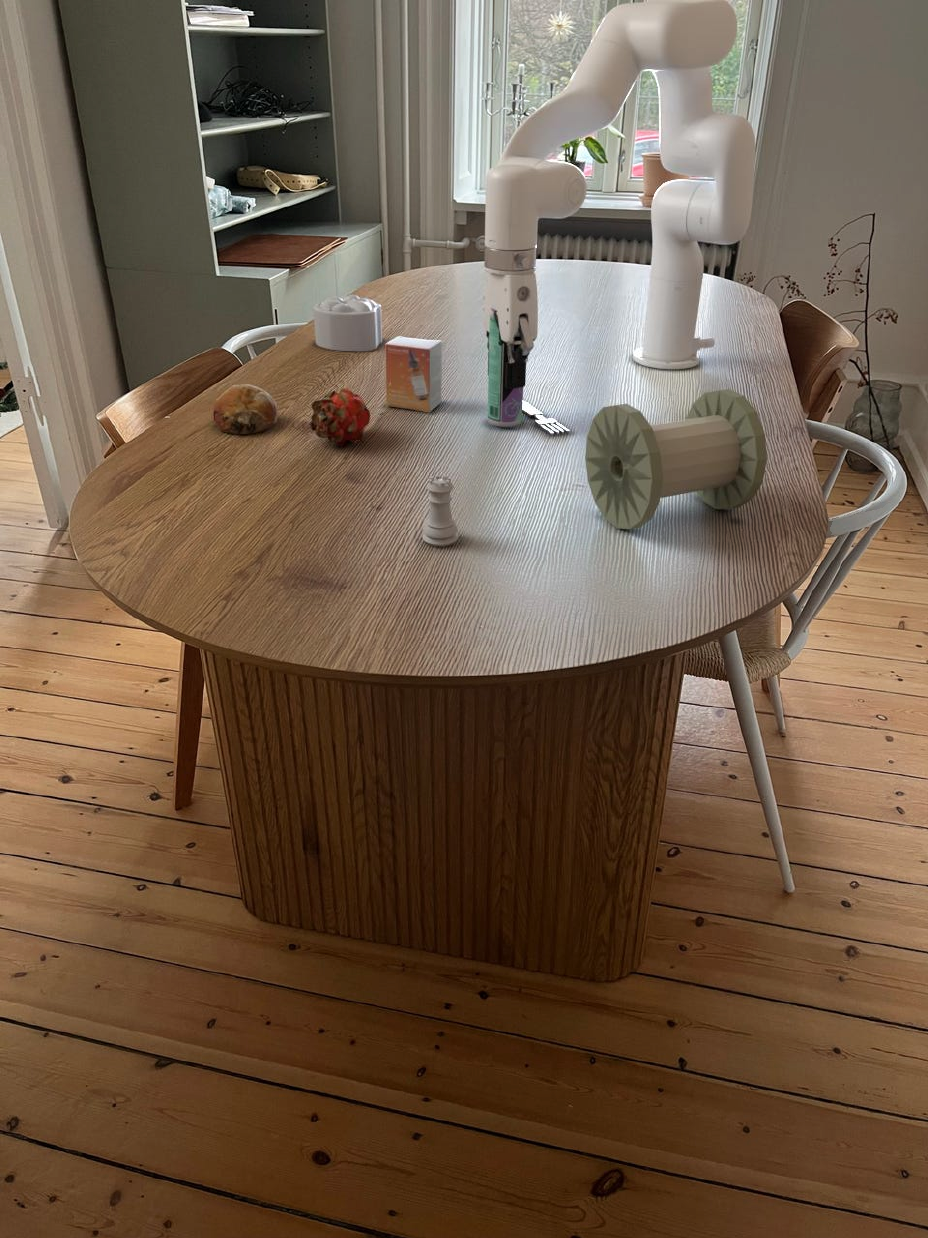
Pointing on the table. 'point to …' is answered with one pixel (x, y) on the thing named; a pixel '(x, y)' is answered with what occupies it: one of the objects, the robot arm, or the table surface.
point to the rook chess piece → (440, 514)
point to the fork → (543, 420)
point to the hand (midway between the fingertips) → (506, 380)
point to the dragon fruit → (340, 417)
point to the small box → (413, 373)
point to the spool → (675, 457)
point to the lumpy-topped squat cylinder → (348, 324)
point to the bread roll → (244, 410)
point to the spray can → (501, 381)
